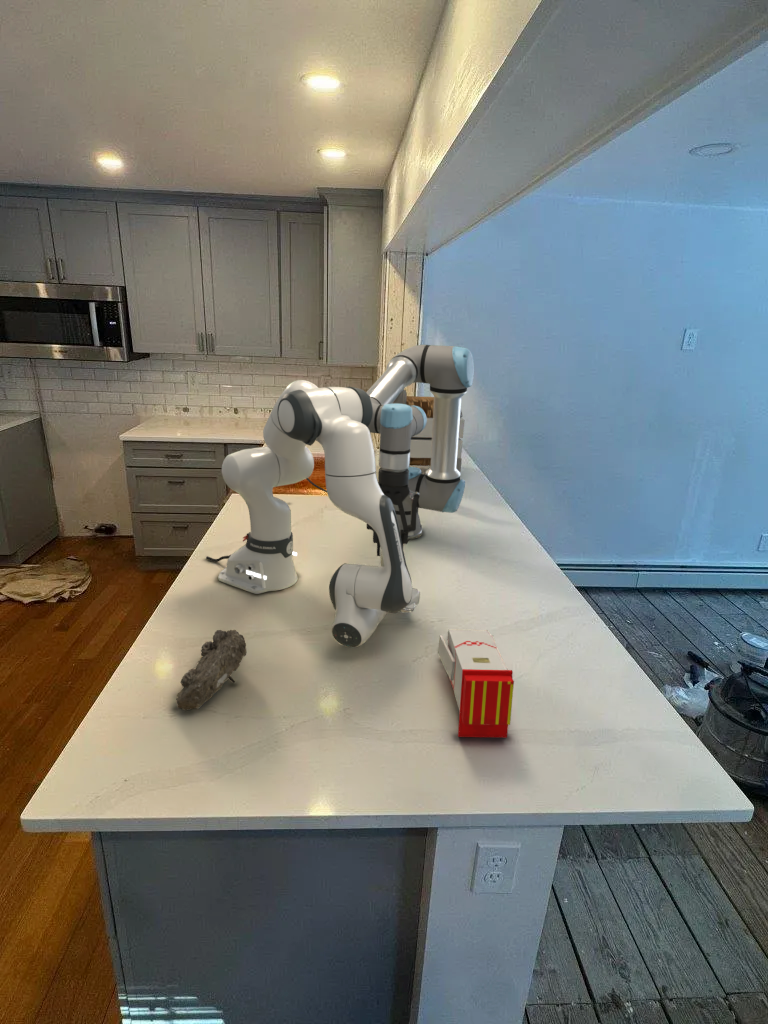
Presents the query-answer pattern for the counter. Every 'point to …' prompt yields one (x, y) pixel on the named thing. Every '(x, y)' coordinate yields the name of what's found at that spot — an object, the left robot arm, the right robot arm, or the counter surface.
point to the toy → (478, 682)
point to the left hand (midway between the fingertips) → (389, 580)
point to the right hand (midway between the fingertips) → (389, 554)
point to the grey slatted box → (426, 431)
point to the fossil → (212, 669)
